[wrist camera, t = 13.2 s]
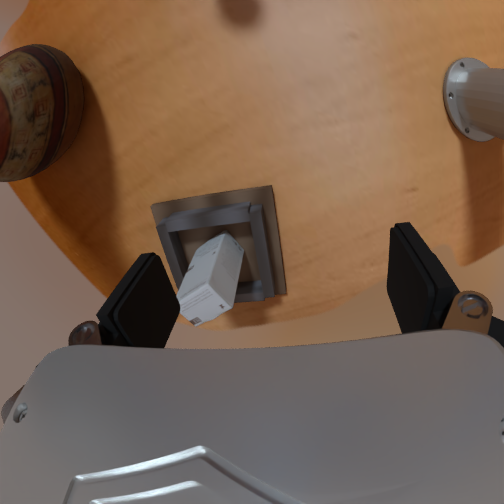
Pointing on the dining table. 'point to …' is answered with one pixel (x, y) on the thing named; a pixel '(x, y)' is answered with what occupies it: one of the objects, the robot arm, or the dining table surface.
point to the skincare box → (211, 279)
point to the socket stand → (238, 225)
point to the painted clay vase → (37, 109)
